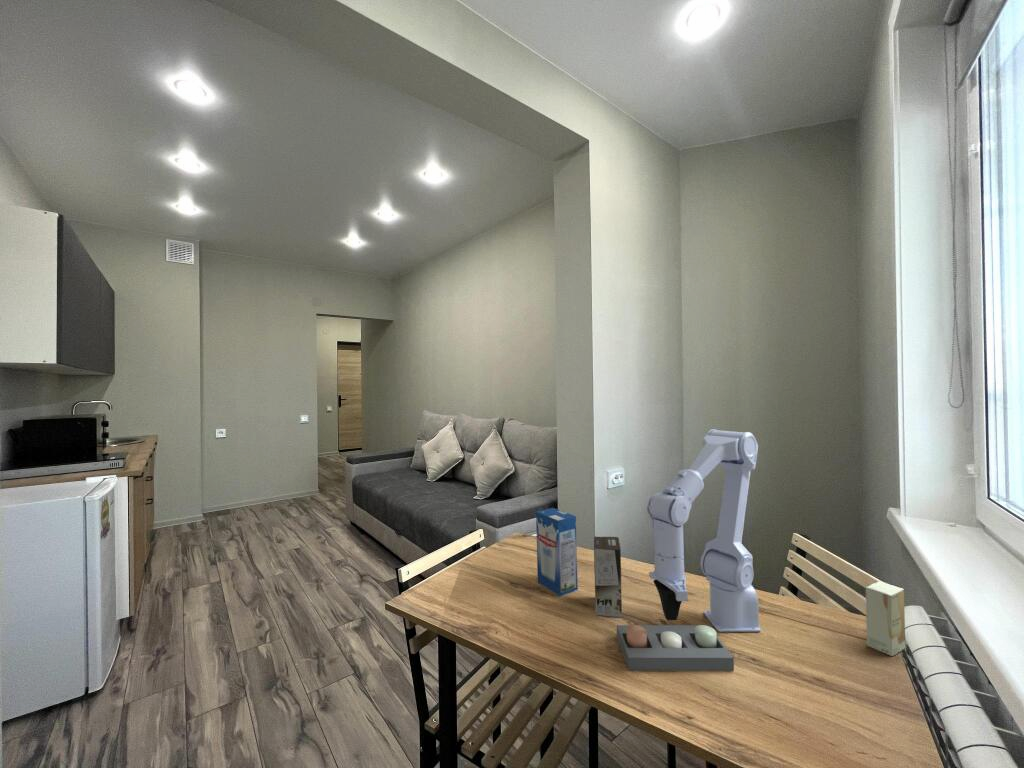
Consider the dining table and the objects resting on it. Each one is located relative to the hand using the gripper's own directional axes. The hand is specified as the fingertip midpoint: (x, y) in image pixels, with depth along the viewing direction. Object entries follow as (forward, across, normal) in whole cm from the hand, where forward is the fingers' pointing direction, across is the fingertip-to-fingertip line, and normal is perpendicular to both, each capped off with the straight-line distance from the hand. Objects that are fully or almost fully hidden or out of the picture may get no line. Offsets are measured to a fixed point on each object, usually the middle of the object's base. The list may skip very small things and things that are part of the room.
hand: (670, 618), depth 87 cm
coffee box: (+7, -18, -10) cm, 22 cm away
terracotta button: (+6, 0, -7) cm, 9 cm away
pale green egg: (+6, 0, +7) cm, 9 cm away
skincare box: (+7, -2, +44) cm, 45 cm away
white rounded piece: (+7, 0, 0) cm, 7 cm away
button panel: (+7, 0, 0) cm, 7 cm away
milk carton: (+7, -29, -22) cm, 37 cm away
